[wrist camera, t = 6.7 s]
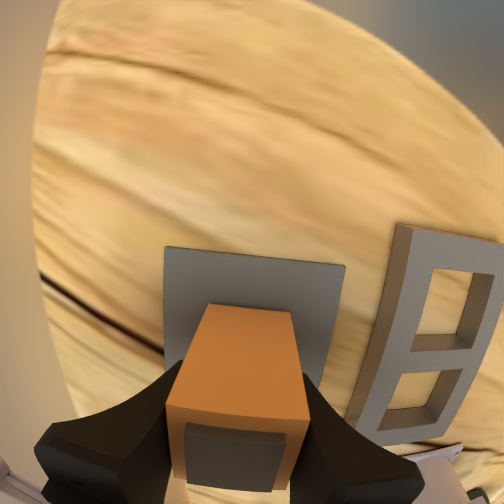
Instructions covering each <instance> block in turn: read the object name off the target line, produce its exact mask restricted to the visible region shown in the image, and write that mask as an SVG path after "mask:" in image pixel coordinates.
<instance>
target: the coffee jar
mask: <svg viewBox="0 0 504 504" xmlns="http://www.w3.org/2000/svg"><path fill="white" fill-rule="evenodd" d="M467 495H468V497H469V499H470V501H471V500H473V499H476V498H478V497H480V496H483V498H484V499H485V501H486V503H487V504H490V502H489V499H488V497H487V495H486V493H485V492H484V491H483V490H476V491H473V492H470V493H468V494H467Z"/></svg>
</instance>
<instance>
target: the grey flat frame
mask: <svg viewBox="0 0 504 504" xmlns="http://www.w3.org/2000/svg"><path fill="white" fill-rule="evenodd" d="M433 268H438V269H447V270H456V271H465V272H473V273H474V275H473V279H472V283H471V287H470V291H469V294H468V298H467V301H466V305H465V308H464V311H463V315H462V318H461V321H460V324H459V327H458V330H457V333H456V334H454V335H415V334H416V331H417V328H418V325H419V321H420V318H421V315H422V311H423V308H424V304H425V300H426V297H427V293H428V289H429V285H430V281H431V277H432V272H433ZM503 302H504V244H502V243H499V242H496V241H491V240H486V239H482V238H477V237H472V236H467V235H462V234H456V233H451V232H446V231H441V230H435V229H429V228H424V227H418V226H412V225H406V224H400V223H396V227H395V233H394V239H393V245H392V250H391V256H390V261H389V266H388V271H387V276H386V280H385V285H384V289H383V294H382V298H381V302H380V306H379V310H378V314H377V318H376V322H375V325H374V329H373V333H372V336H371V340H370V343H369V347H368V350H367V353H366V357H365V360H364V363H363V366H362V369H361V372H360V375H359V378H358V381H357V384H356V387H355V390H354V393H353V396H352V398H351V401H350V404H349V407H348V409H347V412H346V414H345V417H344V420H345V421H346V422H347V423H348V424H349V425H350V426H351V427H353V428H354V429H355V430H356V431H357V432H359V433H360V434H361V435H363V436H364V437H366V438H367V439H369V440H370V441H372V442H373V443H375V444H377V445H378V446H380V447H382V446H390V445H398V444H404V443H411V442H416V441H422V440H427V439H432V438H437V437H442V436H443V435H444V433H445V432H446V430H447V429H448V427H449V425H450V423H451V422H452V420H453V418H454V417H455V415H456V413H457V411H458V409H459V408H460V406H461V404H462V402H463V400H464V398H465V396H466V394H467V392H468V390H469V388H470V386H471V384H472V382H473V380H474V378H475V376H476V374H477V371H478V369H479V367H480V365H481V362H482V360H483V358H484V355H485V353H486V350H487V348H488V345H489V343H490V340H491V338H492V335H493V332H494V329H495V327H496V324H497V321H498V318H499V315H500V312H501V309H502V305H503ZM432 371H442V372H441V374H440V376H439V379H438V381H437V383H436V385H435V387H434V390H433V392H432V394H431V396H430V398H429V400H428V402H427V404H426V406H424V407H416V408H407V409H397V410H386V409H387V407H388V405H389V403H390V400H391V398H392V396H393V393H394V391H395V389H396V386H397V384H398V381H399V379H400V376H401V374H402V373H418V372H432Z"/></svg>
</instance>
